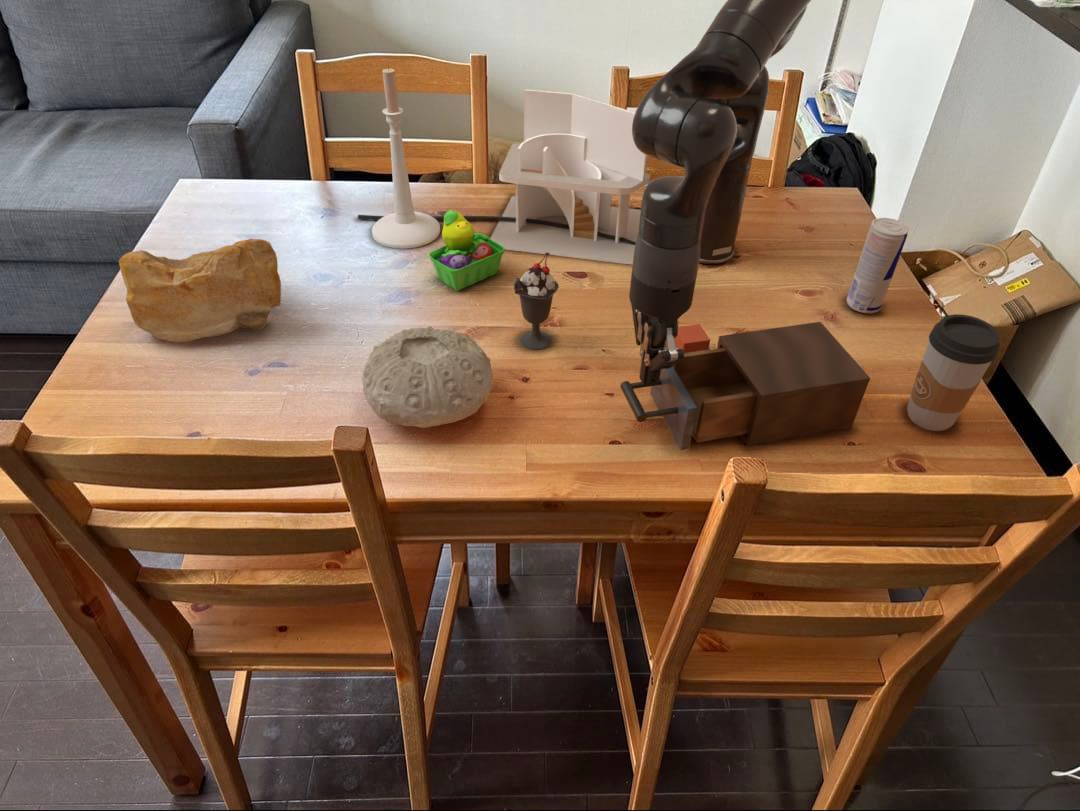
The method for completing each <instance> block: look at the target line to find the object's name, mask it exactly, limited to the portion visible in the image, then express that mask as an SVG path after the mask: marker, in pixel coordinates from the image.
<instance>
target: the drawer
mask: <svg viewBox="0 0 1080 811" xmlns="http://www.w3.org/2000/svg"><path fill="white" fill-rule="evenodd" d="M619 387H620V389H621V392H622V393H623V395H624V397H625V399H626V402H627V403H628V405H629V407H630V409H631V411H632V413H633V415H634V417H635V419H636V421H637V422H638V423H644V422H645V421H646V420H647V419H651V418H656V417H662V419H663V420H664V422H665V424H666V426H667V428H668V429H669V431H670V433H671V435H672V437H673V439H674V441H675V442H676V444H677V446H678V448H679V450H680V451H686V450H689V449H690V446H691V441H692V437H693V438H694V440H695V442H696V443H702V442H708V441H713V440H719V439H725V438H731V437H732V438H733V437H737V436H738V437H739V436H740V435H743V434H748V431H749V427H750V423H751V419H752V415H753V411H754V408H755V404H756V400H757V397H758V396H757V395H756V394H755V392H754V391H753V389H752V388H751V386H750V385H749V383H748V382H747V381H746V379H745V378H744V376H743V375H742V373H741V372H740V371H739V369H738V368H737V366H736V365H735V363H734V362H733V360H732V359H731V358H730V356H729V355H728V353H727V352H726V350H725V349H724V348H717V347H716V348H711V349H708V350H703V351H697V352H690V353H684V358H683V359H682V360H681V361H679V362H678V363H677V364H675V365H674V366H673V367H671V368H668V369H666V368H665V369H661V372H660V379H659V383H658V384H657V385H653V386H643V384H642V382H641V381H637V382H630V381H629V380H624V381H622V382H621V383H620V386H619ZM648 387H650V392H649V394H650V396H651V398H652V400H653V402H654V403H655V406H656V407H657V410H656V409H655V410H650V411H649V410H648V411H645V409H644V406H643V405H642V403H641V401H640V400H639V397H638V396H637V394H636V392H635V390H636V389H641V388H642V389H643V388H648ZM634 389H635V390H634Z"/></svg>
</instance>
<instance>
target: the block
mask: <svg viewBox="0 0 1080 811" xmlns="http://www.w3.org/2000/svg"><path fill="white" fill-rule="evenodd" d="M674 340H675V345H676V348H678V349H682V350H683V352H684V353H690V352H697V351H703V350H710V349H709V348H710V343H711V338H710V337H709V335H708V334H707V332H705V330H704V328H703V327H702V326H701V324H700V323H698V324H690V325H683V326H678V334H677V336H676V337H675V338H674Z"/></svg>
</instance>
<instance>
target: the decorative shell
mask: <svg viewBox="0 0 1080 811" xmlns="http://www.w3.org/2000/svg"><path fill="white" fill-rule="evenodd" d="M361 380H362V386H363V395H364V397H365V399H366V401H367V403H368V404H369V406H370V407H371V409H372V411H373V412H374V413H375V414H376V416H377V417H378V418H379V419H383V420H386V421H388V422H392V423H394V424H398V425H402V426H405V427H417V428H423V429H424V428H431V427H437V426H440V425H446V424H453V423H455V422H456V423H457V422H459V421H461V420H464V419H466V418H468V417H470V416H472V415H474V414H476V413H477V412H478V411H479V410H480V408H481V407H482V406H483V405H484V404H485V403H487V402H486V401H487V400H488V397H489V395H490V394H491V391H492V388H493V370H492V364H491V359H490V358H489V357H488V355H487V353H486V352H485V350H484V349H482V348H481V346H479V344H478V343H477V342H476V341H475V340H474V339H473V338H470V336H469V334H464V335H463V334H461V333H459V332H458V331H456V332H455V331H450V330H447V329H439V328H434V327H432V326H428V327H426V328H423V327H413V328H408V329H402V330H400V331H399V332H397V333H394V334H393V335H391V336H389V337H388V338H385V340H383V341H381V342H380V343H379V344H378V345H374V346H373V349H372V352H371V353H370V354H369V356H368V357H367V359H366V362H365V365H364V368H363V371H362V376H361Z"/></svg>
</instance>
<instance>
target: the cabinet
mask: <svg viewBox="0 0 1080 811" xmlns="http://www.w3.org/2000/svg"><path fill="white" fill-rule="evenodd" d="M717 348H724V349H725V350H726V352H727V353H728V355H729V356H730V358H731V359H732V360H733V362H734V363H735V365H736V366H737V368H738V369H739V371H740V372H741V373H742V375H743V376H744V378H745V379H746V381H747V382H748V383H749V385H750V386H751V388H752V389H753V391H754V392H755V394H756V395H757V396H758V397H757V400H756V404H755V408H754V411H753V415H752V419H751V423H750V427H749V431H748V434H743V435H739V436H740V437H741V439H742V441H743V442H744V444H745V446H746V447H747V448H751V447H757V446H762V445H763V446H764V445H769V444H774V443H780V442H785V441H786V442H787V441H791V440H792V441H793V440H798V439H803V438H809V437H814V436H820V435H827V434H832V433H833V434H834V433H838V432H844V431H850V430H852V428H853V425H854V423H855V420H856V417H857V415H858V413H859V409H860V407H861V404H862V401H863V399H864V397H865V394H866V392H867V388H868V386H869V383H870V380H871V377H870V376H869V374H868V373H867V372H866V371H865V370H864V369H863V368H862V367H861V366H860V364H859V363H858V362H857V361H856V360H855V359H854V357H852V356H851V354H850V353H849V352H848V351H847V349H845V347H844V346H843V345H842V344H841V343H840V342H839V341H838V339H836V337H835V336H834V335H833V334H832V333H831V332H830V330H829V329H828V328H827V327H826V326H825V325H824V323H822V321H816V322H809V323H802V324H801V323H800V324H794V325H788V326H780V327H772V328H767V329H759V330H751V331H744V332H739V333H737V332H736V333H730V334H724V335H723V334H722V335H719V337H718V341H717V347H716V349H717Z"/></svg>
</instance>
